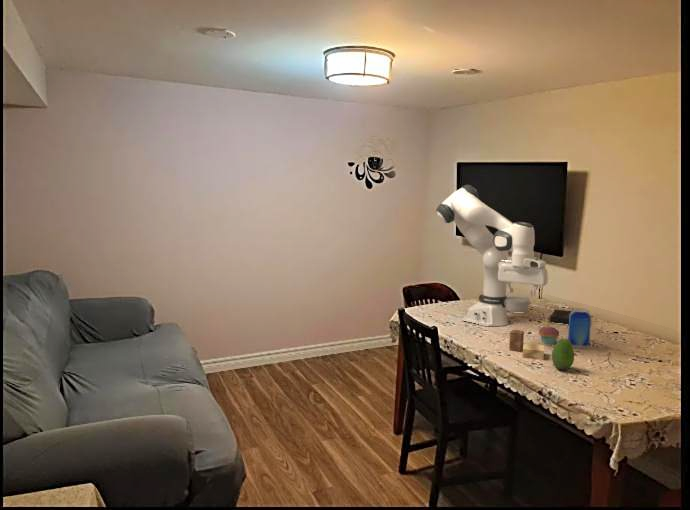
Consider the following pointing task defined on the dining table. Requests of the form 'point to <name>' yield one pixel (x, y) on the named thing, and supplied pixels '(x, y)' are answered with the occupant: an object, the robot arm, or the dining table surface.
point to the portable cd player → (560, 316)
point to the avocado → (563, 354)
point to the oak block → (533, 351)
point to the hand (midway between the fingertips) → (521, 293)
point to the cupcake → (548, 334)
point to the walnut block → (516, 340)
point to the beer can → (579, 327)
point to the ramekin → (517, 304)
